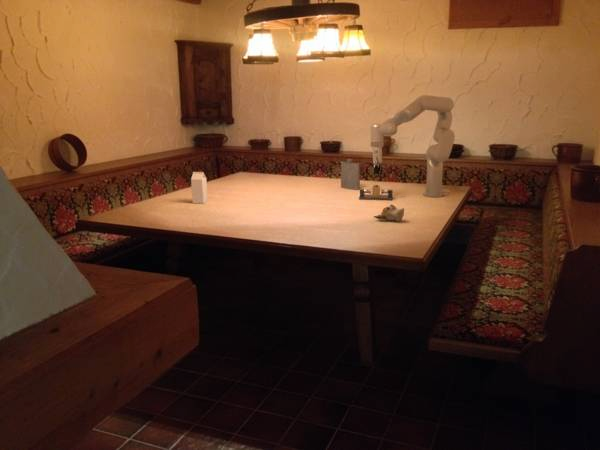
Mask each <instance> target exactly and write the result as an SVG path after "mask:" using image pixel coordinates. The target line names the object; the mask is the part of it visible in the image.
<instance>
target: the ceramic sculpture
mask: <svg viewBox="0 0 600 450" xmlns="http://www.w3.org/2000/svg"><path fill="white" fill-rule="evenodd" d="M404 215H405V208H397V207H396V206H395V205H393V204H390V205H389V206H385V207H384V208H383V209H382V211H381V213H380V214H378V215H374V216H373V218H375V219H378V220H381V221H382V220H383V221H395V222H396V223H397V222H401V221H402V219H403V218H404Z"/></svg>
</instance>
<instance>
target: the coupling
mask: <svg viewBox="0 0 600 450" xmlns="http://www.w3.org/2000/svg"><path fill="white" fill-rule="evenodd" d="M371 195H372V197H380V195H381V186H380V185H379V184H374V185H372V188H371Z"/></svg>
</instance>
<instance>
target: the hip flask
mask: <svg viewBox="0 0 600 450" xmlns="http://www.w3.org/2000/svg"><path fill="white" fill-rule="evenodd" d="M360 168H361V167H360V163H358V162H357V163H356V162H353V158H352V159H351V158H347V159H346V161H341V162H340V188H342V189H347V190H352V191H360V189H361V188H360V187H361V186H360V179H361V178H360V177H361V175H360V174H361V173H360V170H361V169H360Z"/></svg>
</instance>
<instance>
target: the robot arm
mask: <svg viewBox="0 0 600 450" xmlns="http://www.w3.org/2000/svg"><path fill="white" fill-rule="evenodd" d="M454 107H455V103H454V100H453V99H452V98H450V97H445V96H435V95H428V94H427V95H426V94H423V95H421V96H418V97H417V98H415V100H413V101H412V102H411V103H410V104H408V105H407V106H406V107H404V108H402V109H401V110H399V111H398V112H396V113H394V114H393V115H391V116H389V118H387V119H386V120H384V121H383V122H382V123H372V124H371V125H370V148H372V163H373V175H379V174H380V172H381V164H382V163H383V149H382V148H383V147H384V136H389V137H393V136H394V135H396V134H397V133H398V126H400V125H402V124H405V123H409V122H411V121H413V120H414V119H416V118H417V117H419V115H421V114H422V113H423V112H425V111H431V112H436V113H437V120H436V125H435V129H434V131H433V135H432V137H433V140H434V141H435V142H436V143H437V144H432V145H430V146H428V148H427V149H426V153H425V155H426V183H425V191H424V192H423V196H425V197H428V198H429V197H431V198H440V197H443V196H445V193H446V194H449V193H450V189H443V171H444V162H446V161H447V160H448V159H449V157H450V156H451V153H452V149H453V146H454V143H455V137H456V136H455V132H454V131H453V130H452V129H451V127H452V122H453V112H452V110H453V109H454Z"/></svg>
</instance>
